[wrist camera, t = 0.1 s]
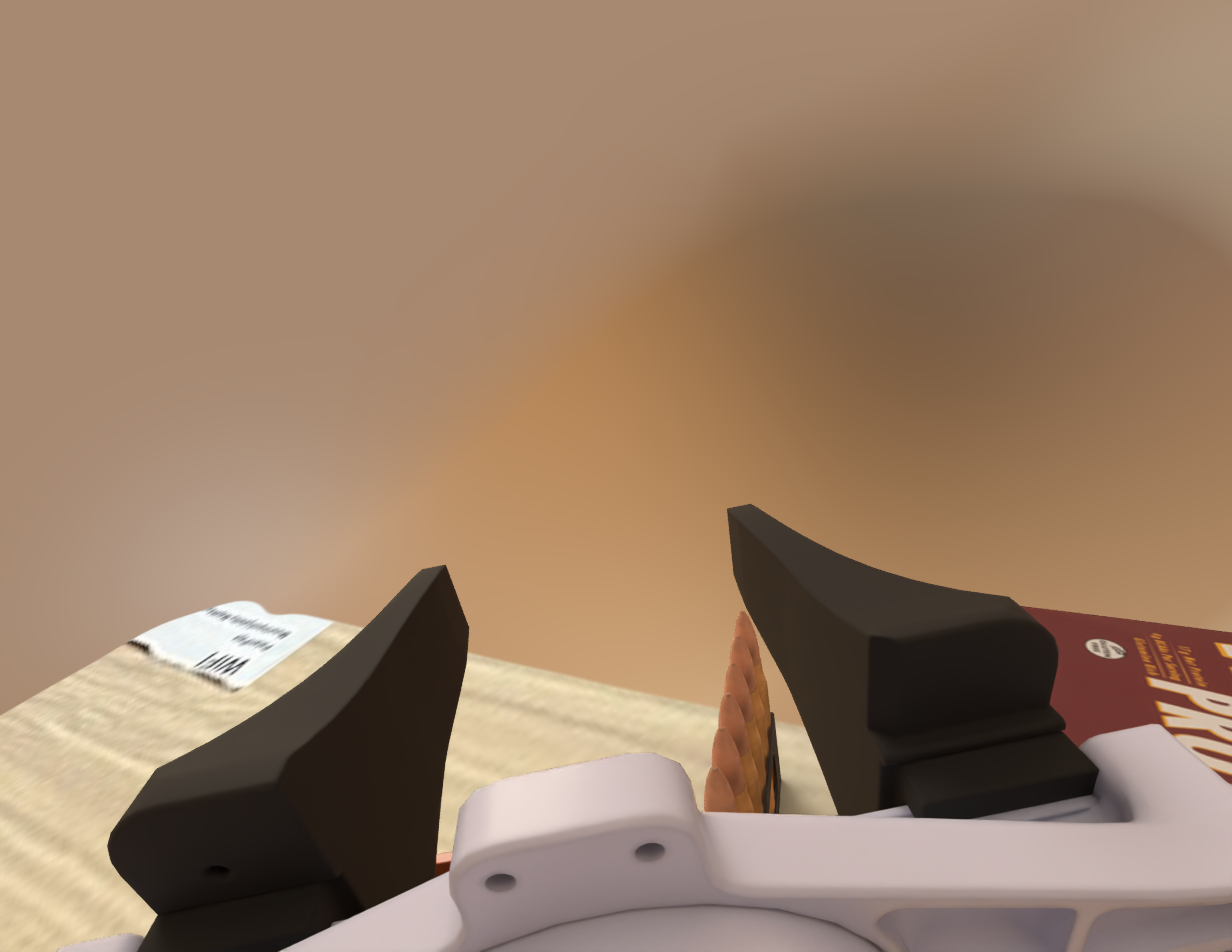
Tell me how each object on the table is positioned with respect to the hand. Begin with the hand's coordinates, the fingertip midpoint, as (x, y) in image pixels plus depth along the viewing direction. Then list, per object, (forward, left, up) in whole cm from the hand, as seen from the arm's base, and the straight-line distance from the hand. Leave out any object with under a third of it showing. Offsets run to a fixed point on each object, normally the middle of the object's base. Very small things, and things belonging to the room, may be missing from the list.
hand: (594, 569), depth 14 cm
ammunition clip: (+6, -4, -22) cm, 23 cm away
